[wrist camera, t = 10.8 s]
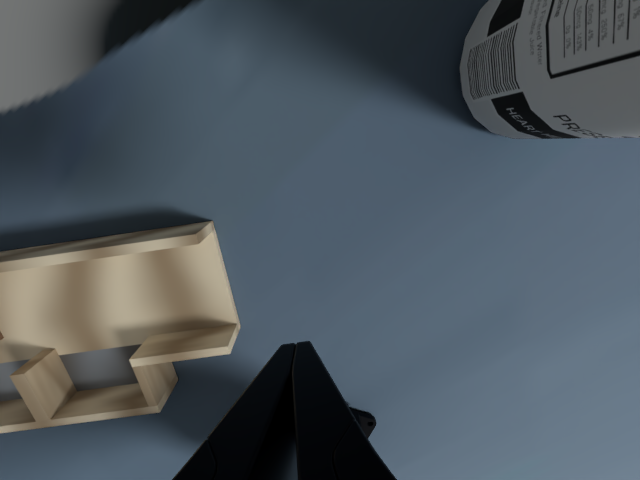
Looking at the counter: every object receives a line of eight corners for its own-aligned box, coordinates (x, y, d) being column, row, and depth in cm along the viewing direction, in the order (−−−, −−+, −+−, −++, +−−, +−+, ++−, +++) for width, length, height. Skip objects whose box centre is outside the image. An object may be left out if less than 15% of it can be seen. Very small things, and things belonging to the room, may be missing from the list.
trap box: (212, 220, 20) (195, 234, 17) (252, 370, 23) (243, 401, 21) (-137, 271, 20) (-210, 292, 17) (-43, 409, 24) (-91, 445, 21)
